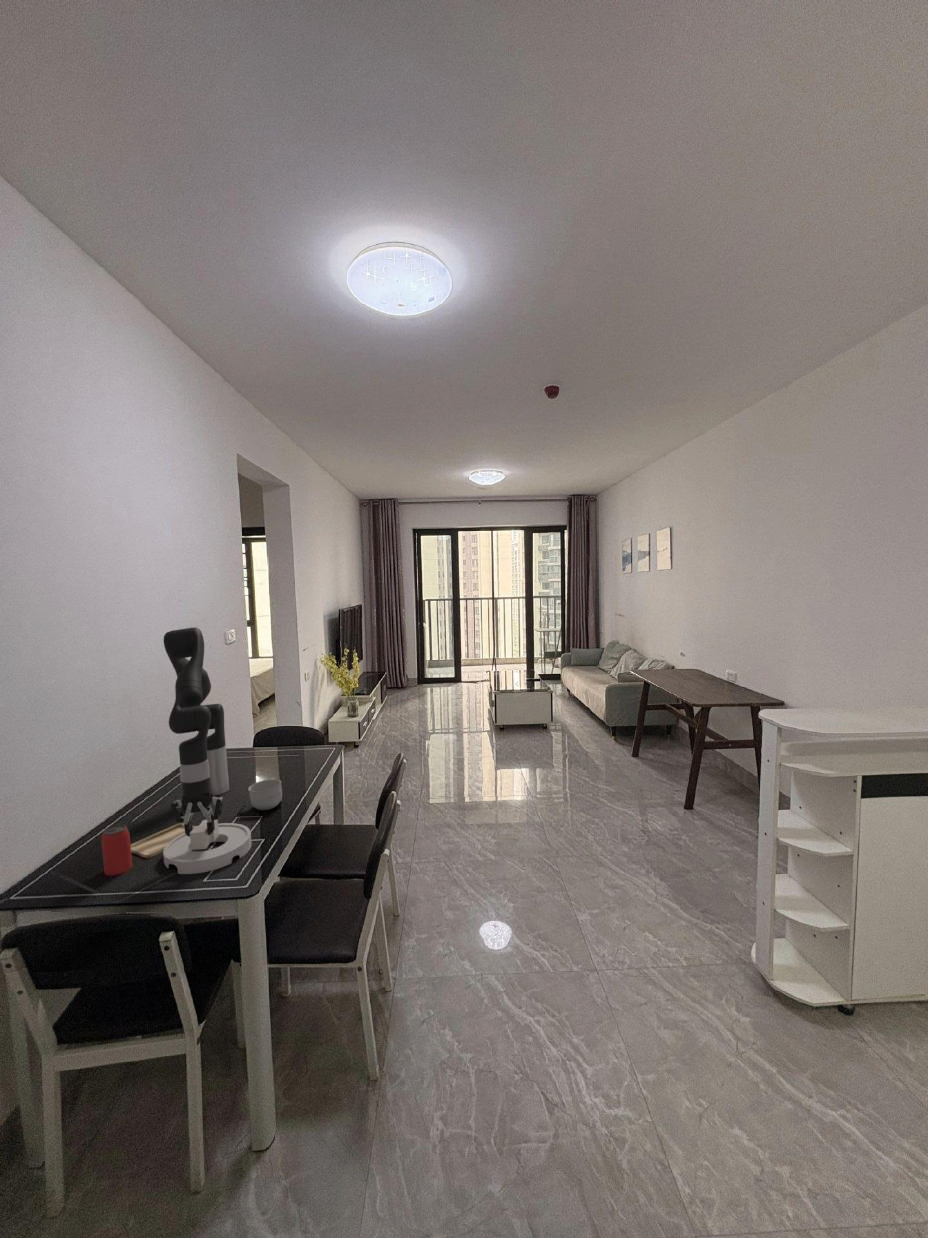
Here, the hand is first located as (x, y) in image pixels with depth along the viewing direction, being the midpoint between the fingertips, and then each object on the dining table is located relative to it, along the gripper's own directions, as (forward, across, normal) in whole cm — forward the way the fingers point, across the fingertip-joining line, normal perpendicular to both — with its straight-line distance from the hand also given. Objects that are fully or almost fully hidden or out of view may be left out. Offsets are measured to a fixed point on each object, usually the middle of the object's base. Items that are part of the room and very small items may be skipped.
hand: (200, 834), depth 157 cm
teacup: (+7, +10, +35) cm, 37 cm away
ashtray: (+8, +1, +3) cm, 8 cm away
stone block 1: (+3, 0, 0) cm, 3 cm away
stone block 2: (+3, +1, +4) cm, 6 cm away
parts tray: (+7, -15, +12) cm, 20 cm away
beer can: (+7, -21, -4) cm, 22 cm away
